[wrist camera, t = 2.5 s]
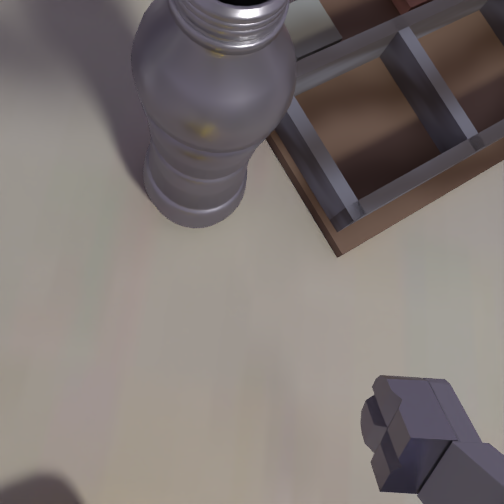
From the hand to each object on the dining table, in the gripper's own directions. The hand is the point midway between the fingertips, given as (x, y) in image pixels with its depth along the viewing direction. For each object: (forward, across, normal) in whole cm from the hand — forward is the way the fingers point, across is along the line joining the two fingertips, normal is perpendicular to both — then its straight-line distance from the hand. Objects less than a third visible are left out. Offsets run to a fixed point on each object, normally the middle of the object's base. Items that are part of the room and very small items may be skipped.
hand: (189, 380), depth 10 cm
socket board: (+30, -15, -1) cm, 33 cm away
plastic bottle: (+23, 0, +7) cm, 24 cm away
